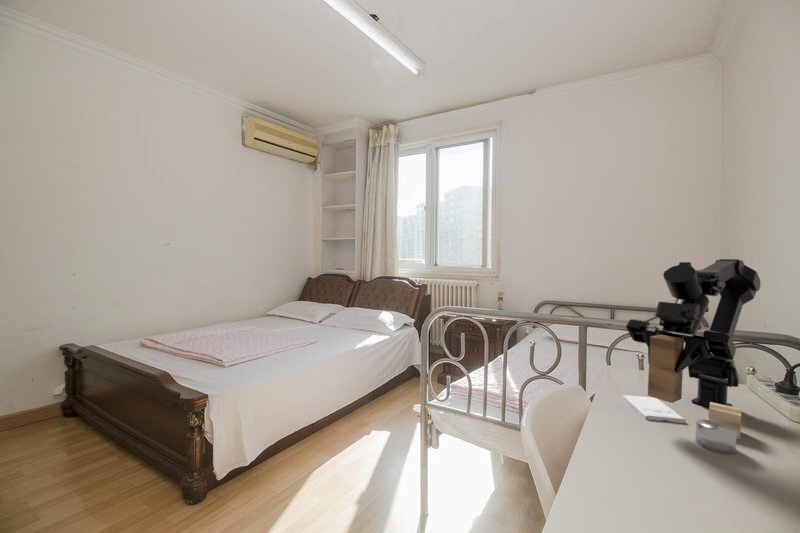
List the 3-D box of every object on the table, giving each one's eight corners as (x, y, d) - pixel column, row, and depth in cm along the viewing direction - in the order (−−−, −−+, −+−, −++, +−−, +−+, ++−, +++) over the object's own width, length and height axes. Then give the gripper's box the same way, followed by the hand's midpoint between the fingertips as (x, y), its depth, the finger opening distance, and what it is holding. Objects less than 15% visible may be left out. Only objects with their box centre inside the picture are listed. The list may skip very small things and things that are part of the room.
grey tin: (702, 436, 74) (703, 417, 74) (740, 449, 69) (741, 429, 69) (690, 443, 71) (690, 423, 71) (729, 458, 66) (730, 437, 65)
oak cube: (709, 423, 80) (710, 401, 80) (739, 431, 76) (741, 408, 76) (708, 431, 76) (709, 408, 76) (740, 439, 73) (741, 415, 73)
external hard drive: (657, 404, 92) (685, 425, 79) (622, 400, 93) (645, 421, 81) (657, 397, 92) (686, 418, 79) (622, 394, 93) (645, 414, 81)
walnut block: (657, 391, 79) (659, 334, 79) (681, 398, 76) (684, 338, 75) (647, 395, 77) (650, 336, 77) (672, 403, 73) (674, 340, 73)
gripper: (631, 285, 86) (604, 335, 80) (733, 293, 70) (708, 355, 64) (645, 315, 90) (621, 364, 85) (744, 329, 74) (722, 390, 69)
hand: (662, 367), depth 75 cm, fingers closed on walnut block, 4 cm apart
